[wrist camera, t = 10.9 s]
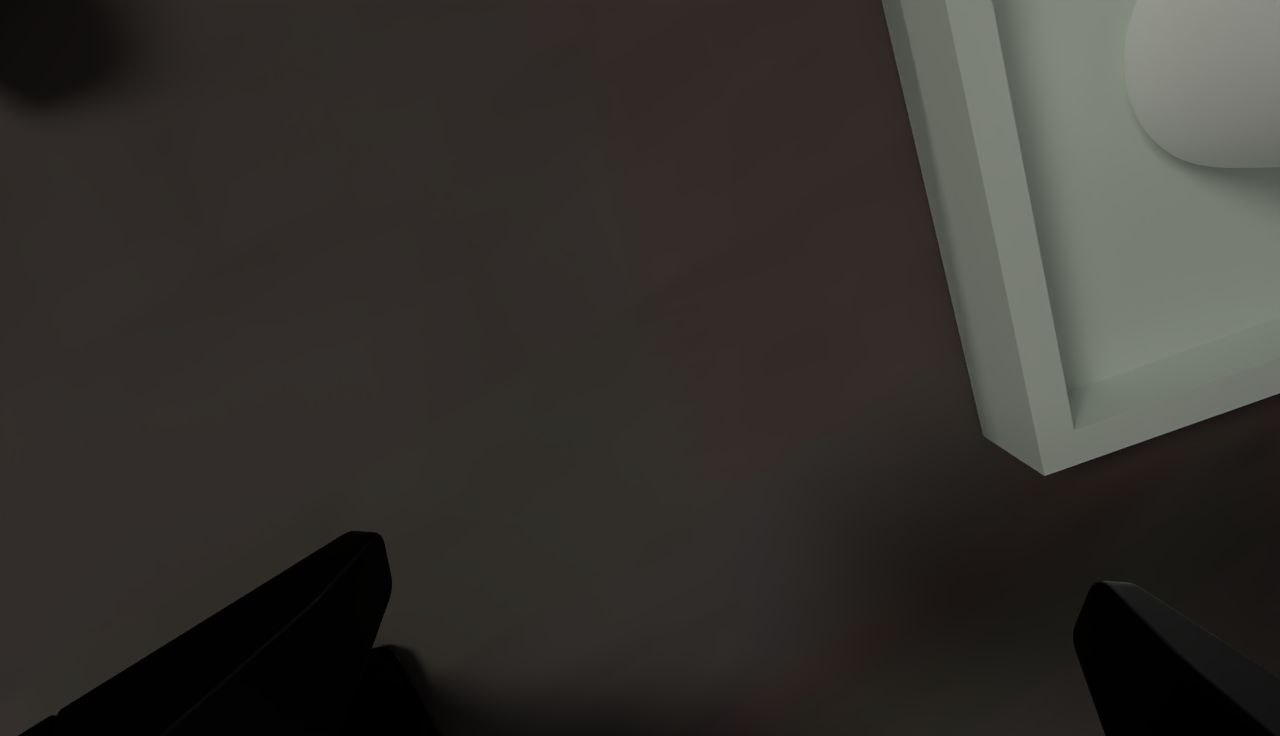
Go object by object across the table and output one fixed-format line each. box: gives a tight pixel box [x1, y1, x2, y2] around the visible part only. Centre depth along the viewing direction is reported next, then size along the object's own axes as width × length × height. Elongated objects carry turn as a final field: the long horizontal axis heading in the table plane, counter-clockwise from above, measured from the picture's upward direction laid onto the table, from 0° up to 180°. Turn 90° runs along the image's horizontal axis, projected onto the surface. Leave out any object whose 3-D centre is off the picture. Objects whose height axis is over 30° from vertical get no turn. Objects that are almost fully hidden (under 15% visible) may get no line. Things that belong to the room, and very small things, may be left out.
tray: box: [882, 0, 1280, 476], centre depth 17 cm, size 16×16×3 cm
